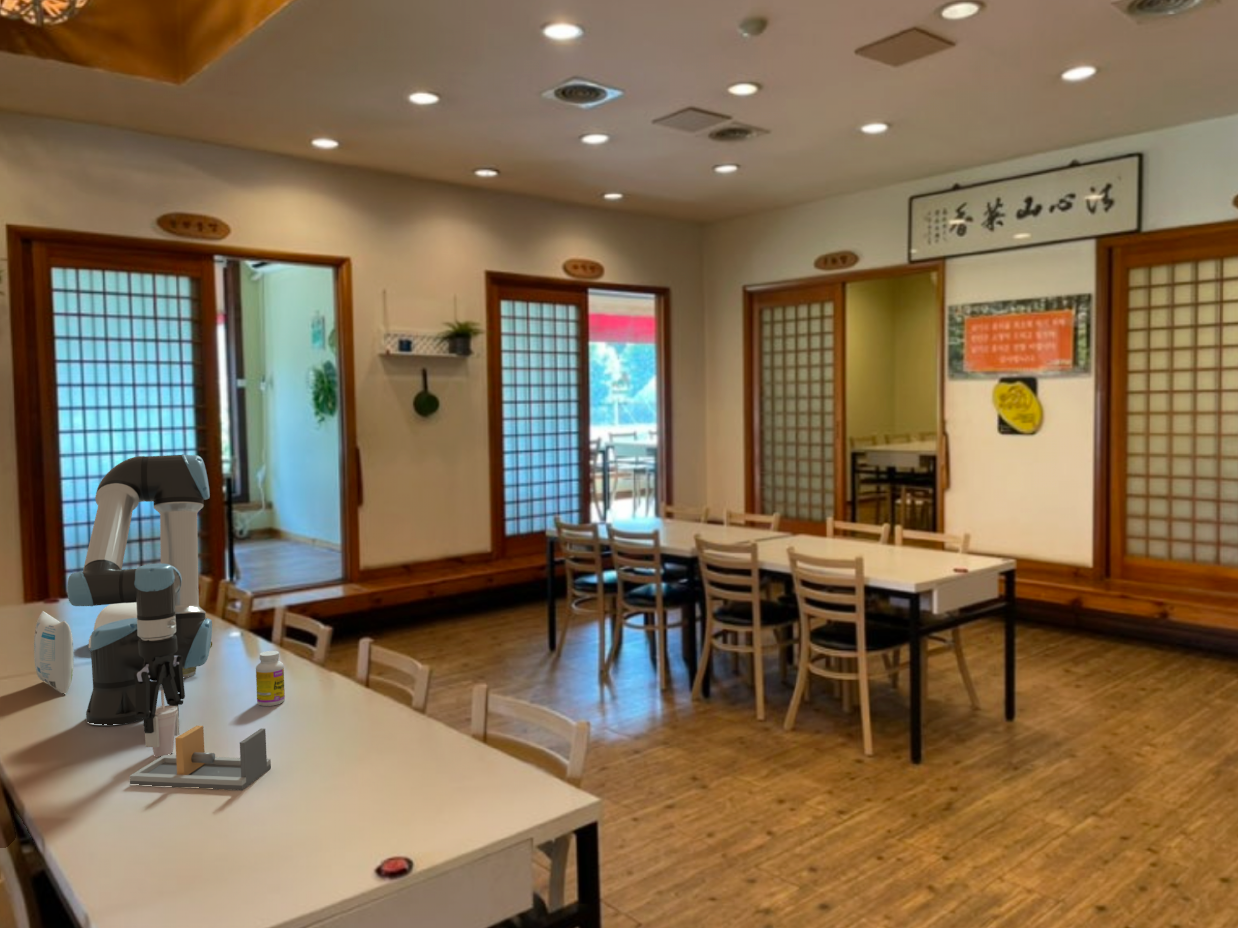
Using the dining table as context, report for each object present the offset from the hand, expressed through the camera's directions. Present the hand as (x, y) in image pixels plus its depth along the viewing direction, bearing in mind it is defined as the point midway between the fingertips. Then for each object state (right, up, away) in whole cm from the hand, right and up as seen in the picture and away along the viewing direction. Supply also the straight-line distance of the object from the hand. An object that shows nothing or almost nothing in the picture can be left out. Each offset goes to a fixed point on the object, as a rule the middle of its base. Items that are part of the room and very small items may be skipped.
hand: (162, 740), depth 201 cm
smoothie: (0, -3, 0) cm, 3 cm away
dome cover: (-57, +2, +100) cm, 115 cm away
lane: (+14, -4, -13) cm, 20 cm away
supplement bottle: (+11, -1, +34) cm, 36 cm away
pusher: (+14, -2, -13) cm, 19 cm away
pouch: (-54, -1, +50) cm, 73 cm away
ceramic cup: (-23, 0, +61) cm, 65 cm away
